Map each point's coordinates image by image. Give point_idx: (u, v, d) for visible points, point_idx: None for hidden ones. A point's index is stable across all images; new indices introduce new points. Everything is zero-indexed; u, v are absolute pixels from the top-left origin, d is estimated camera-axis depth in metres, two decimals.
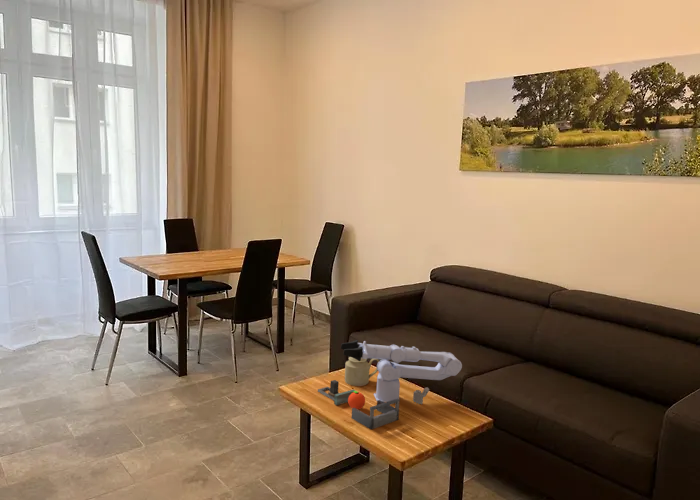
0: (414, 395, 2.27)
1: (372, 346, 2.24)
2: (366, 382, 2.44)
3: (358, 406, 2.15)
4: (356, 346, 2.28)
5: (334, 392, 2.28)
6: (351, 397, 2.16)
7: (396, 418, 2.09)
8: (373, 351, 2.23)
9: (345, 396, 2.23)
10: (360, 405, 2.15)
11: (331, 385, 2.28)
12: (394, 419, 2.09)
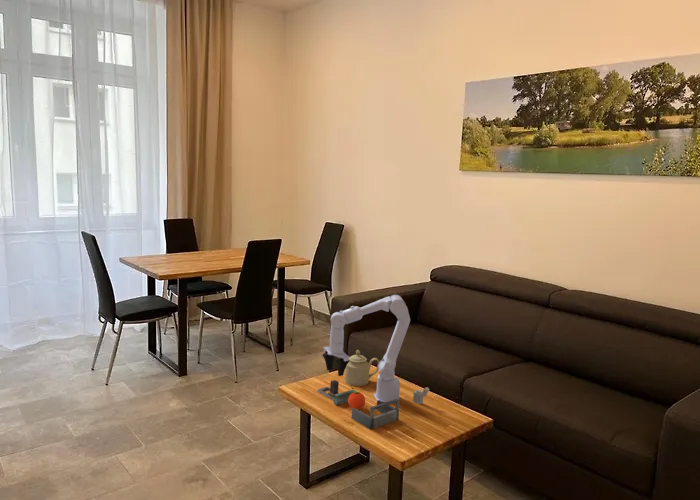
0: (414, 395, 2.27)
1: (333, 346, 2.23)
2: (366, 382, 2.44)
3: (358, 406, 2.15)
4: (329, 355, 2.29)
5: (334, 392, 2.28)
6: (351, 397, 2.16)
7: (396, 418, 2.09)
8: (338, 345, 2.23)
9: (345, 396, 2.23)
10: (360, 405, 2.15)
11: (331, 385, 2.28)
12: (394, 419, 2.09)
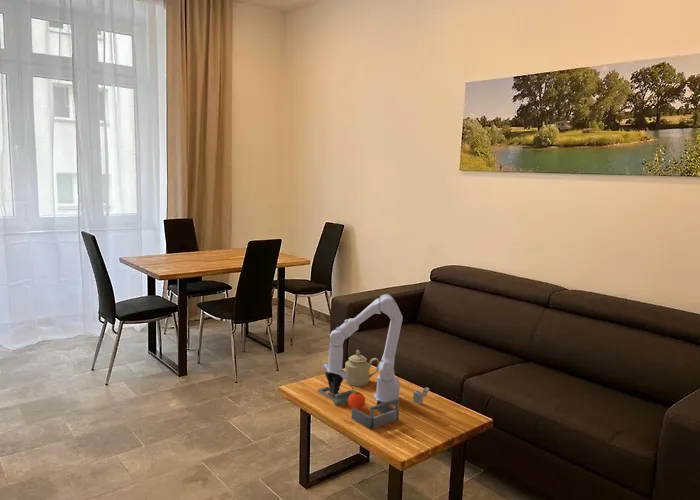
0: (414, 395, 2.27)
1: (332, 364, 2.25)
2: (366, 382, 2.44)
3: (358, 406, 2.15)
4: (332, 374, 2.29)
5: (334, 392, 2.28)
6: (351, 397, 2.16)
7: (396, 418, 2.09)
8: (337, 363, 2.24)
9: (345, 396, 2.23)
10: (360, 405, 2.15)
11: (331, 385, 2.28)
12: (394, 419, 2.09)
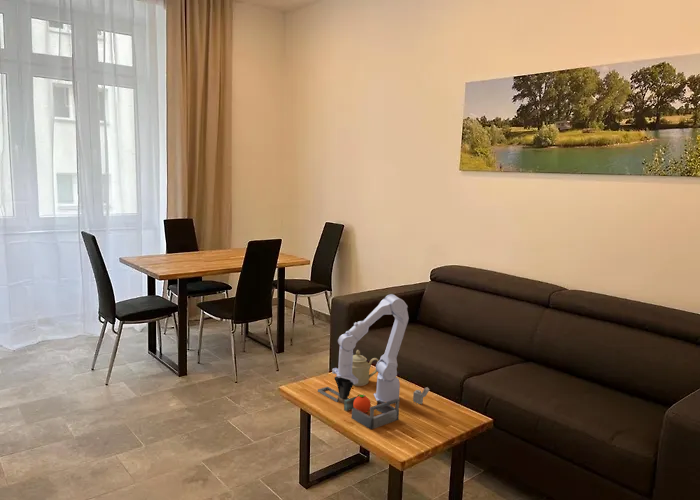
0: (414, 395, 2.27)
1: (342, 368, 2.20)
2: (366, 382, 2.44)
3: (362, 410, 2.11)
4: (341, 378, 2.24)
5: (344, 397, 2.23)
6: (356, 400, 2.13)
7: (396, 418, 2.09)
8: (347, 368, 2.20)
9: None
10: (364, 409, 2.11)
11: (340, 390, 2.23)
12: (394, 419, 2.09)
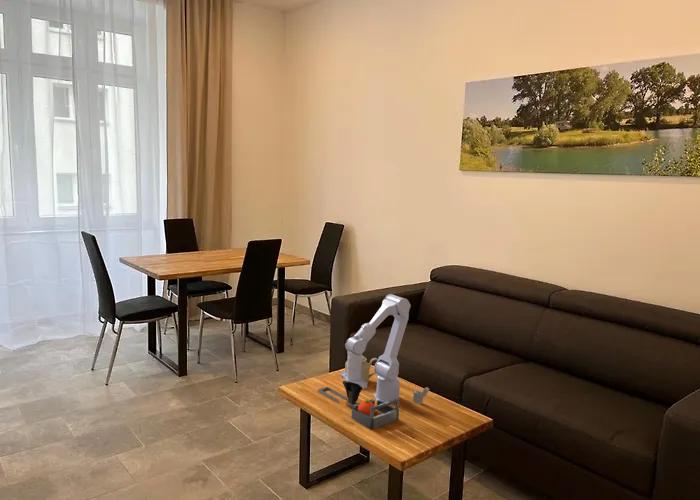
0: (414, 395, 2.27)
1: (351, 373, 2.16)
2: (366, 382, 2.44)
3: None
4: (350, 383, 2.20)
5: (352, 402, 2.19)
6: (359, 404, 2.09)
7: (396, 418, 2.09)
8: (356, 372, 2.16)
9: None
10: None
11: (349, 395, 2.19)
12: (394, 419, 2.09)
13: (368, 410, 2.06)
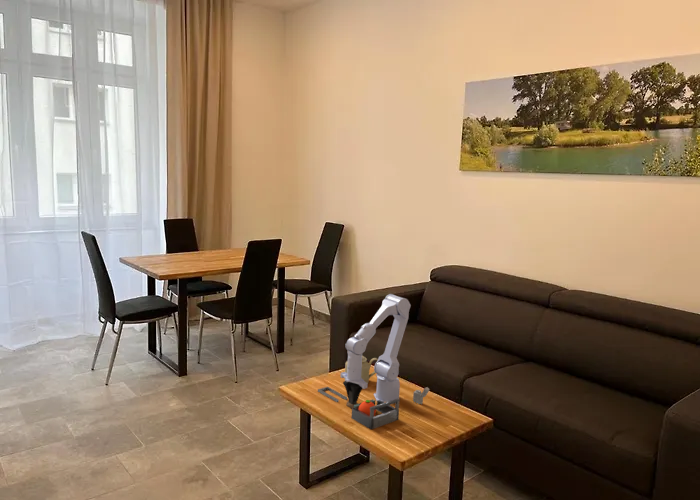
0: (414, 395, 2.27)
1: (351, 373, 2.15)
2: (366, 382, 2.44)
3: None
4: (350, 383, 2.20)
5: (353, 402, 2.18)
6: (360, 405, 2.09)
7: (396, 418, 2.09)
8: (356, 372, 2.15)
9: None
10: None
11: (349, 395, 2.19)
12: (394, 419, 2.09)
13: (369, 410, 2.06)
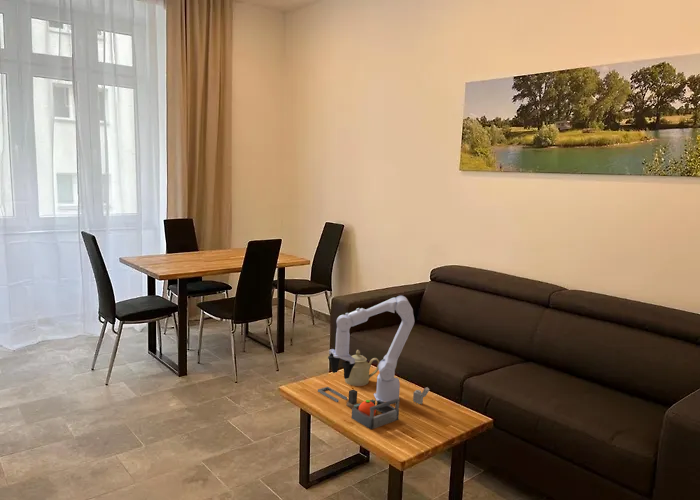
0: (414, 395, 2.27)
1: (339, 349, 2.24)
2: (366, 382, 2.44)
3: None
4: (335, 357, 2.29)
5: (353, 402, 2.18)
6: (360, 405, 2.09)
7: (396, 418, 2.09)
8: (344, 348, 2.23)
9: None
10: None
11: (349, 395, 2.19)
12: (394, 419, 2.09)
13: (369, 410, 2.06)
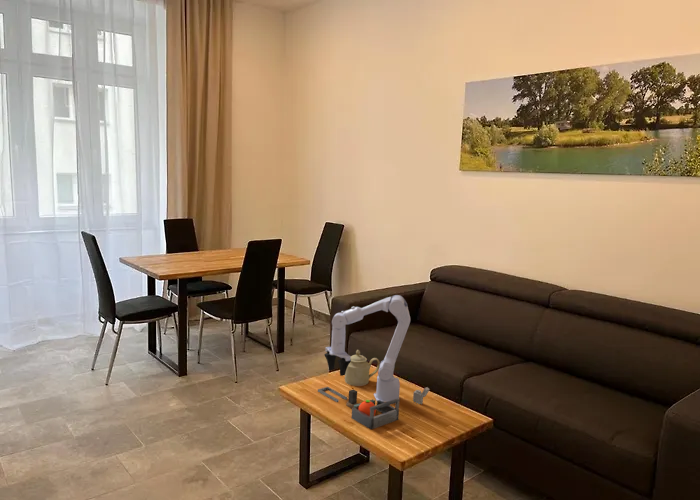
0: (414, 395, 2.27)
1: (335, 346, 2.27)
2: (366, 382, 2.44)
3: None
4: (331, 355, 2.33)
5: (353, 402, 2.18)
6: (360, 405, 2.09)
7: (396, 418, 2.09)
8: (340, 345, 2.27)
9: None
10: None
11: (349, 395, 2.19)
12: (394, 419, 2.09)
13: (368, 410, 2.06)
